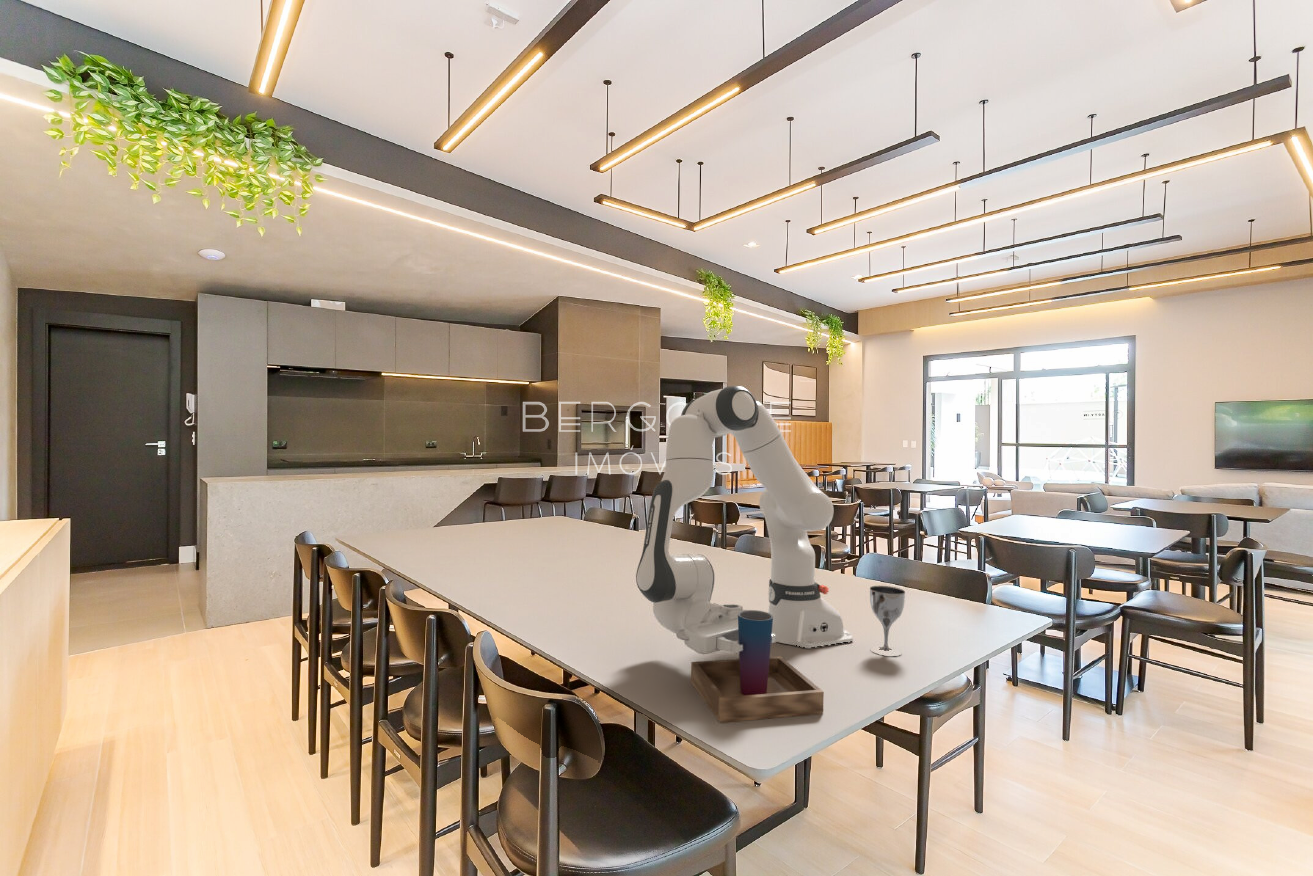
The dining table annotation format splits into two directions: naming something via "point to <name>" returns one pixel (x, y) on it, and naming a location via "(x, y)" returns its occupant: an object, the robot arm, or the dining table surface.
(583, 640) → the dining table surface
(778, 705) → the tray
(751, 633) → the cup
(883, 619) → the wine glass
